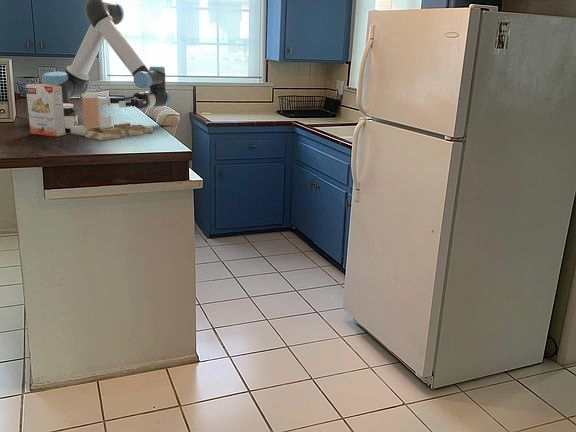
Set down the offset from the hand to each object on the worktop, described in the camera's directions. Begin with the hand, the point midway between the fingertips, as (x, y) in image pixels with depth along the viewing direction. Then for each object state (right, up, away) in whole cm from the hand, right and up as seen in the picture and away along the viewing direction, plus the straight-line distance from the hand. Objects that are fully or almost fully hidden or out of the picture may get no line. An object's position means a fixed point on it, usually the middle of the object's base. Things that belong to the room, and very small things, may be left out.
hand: (108, 103), depth 253 cm
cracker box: (-22, -16, -12) cm, 30 cm away
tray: (-6, -14, -5) cm, 16 cm away
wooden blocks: (+7, -15, -7) cm, 18 cm away
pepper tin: (+3, -17, -13) cm, 22 cm away
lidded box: (-6, -13, -5) cm, 15 cm away
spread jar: (-20, -12, +2) cm, 24 cm away
